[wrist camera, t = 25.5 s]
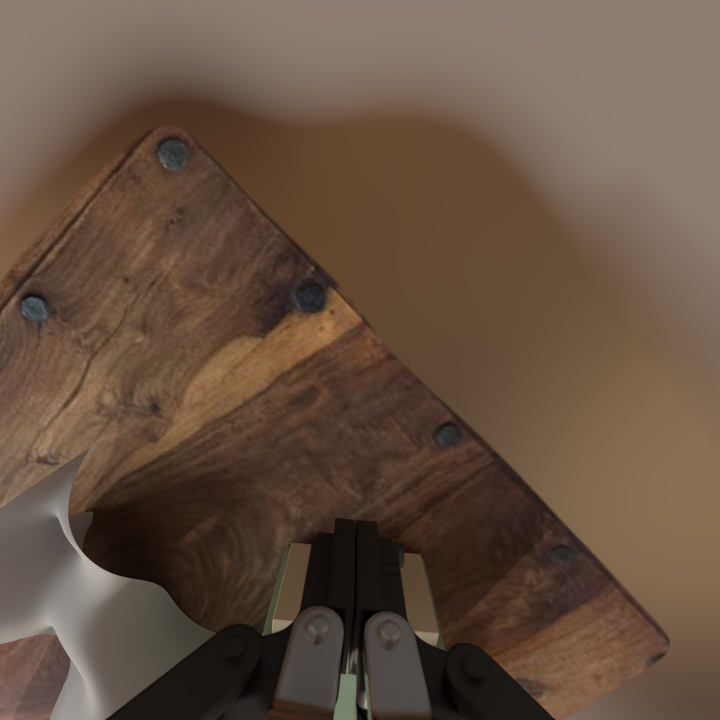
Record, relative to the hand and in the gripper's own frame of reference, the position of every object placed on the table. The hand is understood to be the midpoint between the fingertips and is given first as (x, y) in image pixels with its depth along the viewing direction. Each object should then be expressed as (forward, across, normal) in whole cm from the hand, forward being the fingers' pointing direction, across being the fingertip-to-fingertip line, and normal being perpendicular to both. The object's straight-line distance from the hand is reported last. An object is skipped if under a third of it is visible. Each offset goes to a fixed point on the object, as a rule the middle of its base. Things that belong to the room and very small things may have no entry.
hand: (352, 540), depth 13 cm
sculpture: (+17, +20, +22) cm, 34 cm away
